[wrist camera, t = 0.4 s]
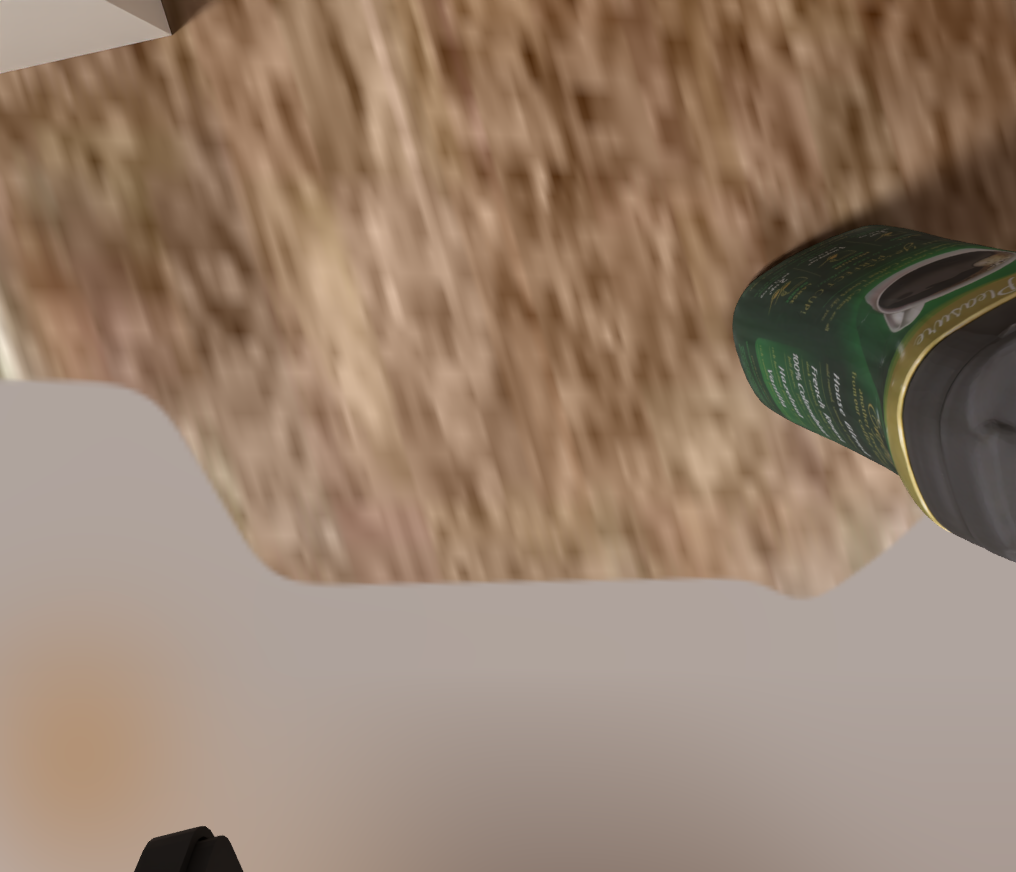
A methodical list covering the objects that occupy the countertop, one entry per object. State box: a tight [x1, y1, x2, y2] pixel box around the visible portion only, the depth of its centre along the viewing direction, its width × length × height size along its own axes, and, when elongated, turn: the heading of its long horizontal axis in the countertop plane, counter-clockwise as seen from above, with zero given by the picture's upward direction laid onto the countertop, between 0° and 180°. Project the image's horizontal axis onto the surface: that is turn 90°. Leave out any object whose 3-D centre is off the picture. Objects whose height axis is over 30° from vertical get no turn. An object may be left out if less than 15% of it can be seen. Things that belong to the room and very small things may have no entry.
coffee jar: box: [733, 225, 1016, 562], centre depth 30 cm, size 10×8×19 cm
